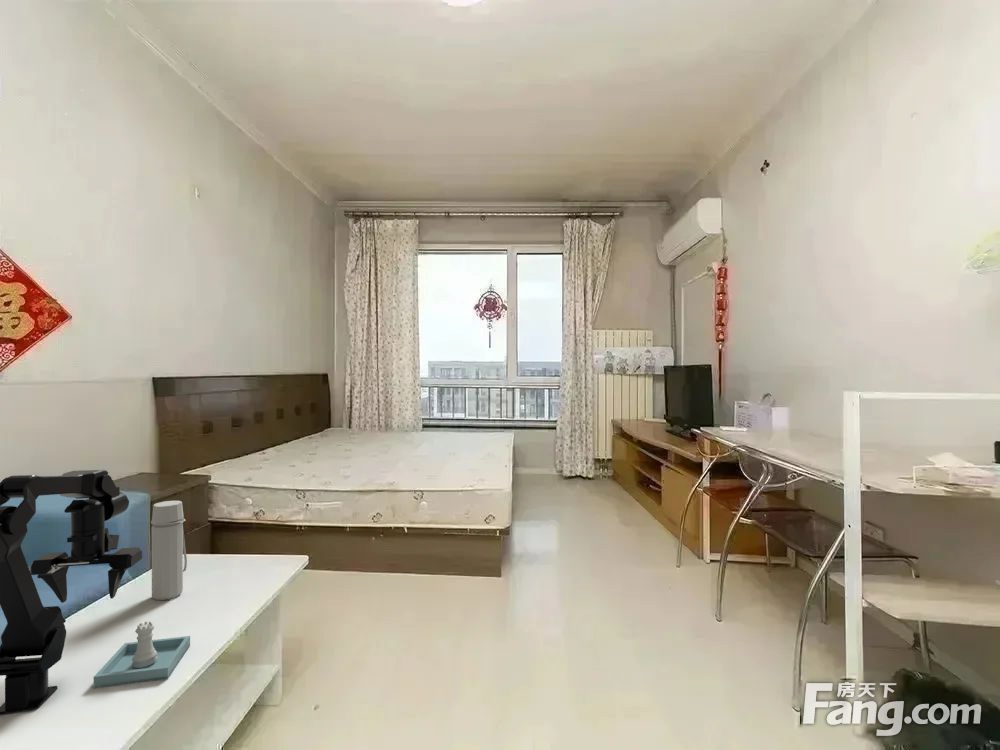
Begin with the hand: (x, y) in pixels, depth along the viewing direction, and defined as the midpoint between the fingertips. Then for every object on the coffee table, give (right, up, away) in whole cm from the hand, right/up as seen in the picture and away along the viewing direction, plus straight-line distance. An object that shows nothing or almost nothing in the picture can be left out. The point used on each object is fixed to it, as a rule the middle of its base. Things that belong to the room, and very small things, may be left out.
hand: (88, 599), depth 111 cm
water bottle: (0, -11, +28) cm, 31 cm away
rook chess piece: (+16, -11, -6) cm, 20 cm away
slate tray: (+16, -11, -6) cm, 20 cm away
